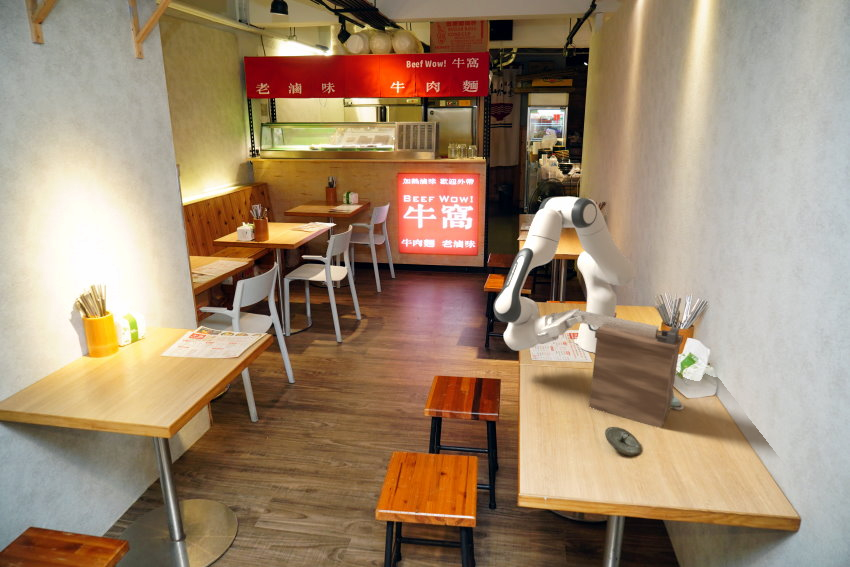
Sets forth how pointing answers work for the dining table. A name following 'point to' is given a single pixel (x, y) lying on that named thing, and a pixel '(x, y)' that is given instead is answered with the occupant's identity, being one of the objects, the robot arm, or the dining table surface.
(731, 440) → the dining table surface
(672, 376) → the walnut stand
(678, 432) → the dining table surface
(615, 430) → the lid
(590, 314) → the aluminium bar
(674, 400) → the pacifier
